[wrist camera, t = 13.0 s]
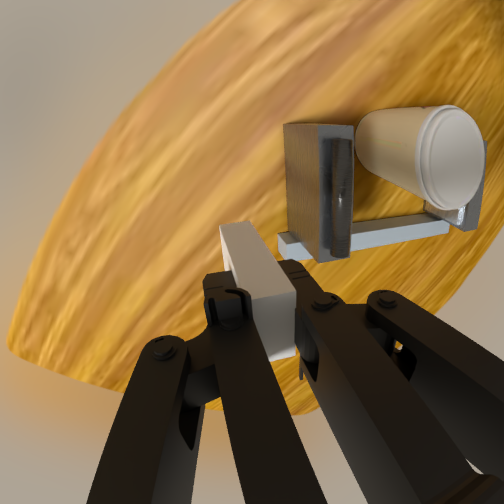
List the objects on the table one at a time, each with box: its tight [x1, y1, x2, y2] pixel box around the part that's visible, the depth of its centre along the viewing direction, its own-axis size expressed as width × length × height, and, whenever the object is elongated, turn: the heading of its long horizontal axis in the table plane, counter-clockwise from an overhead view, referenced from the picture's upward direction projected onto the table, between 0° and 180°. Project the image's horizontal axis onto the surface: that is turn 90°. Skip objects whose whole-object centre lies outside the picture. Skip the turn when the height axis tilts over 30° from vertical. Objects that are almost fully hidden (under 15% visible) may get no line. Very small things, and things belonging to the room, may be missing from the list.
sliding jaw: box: [283, 123, 354, 263], centre depth 24 cm, size 11×4×10 cm, turn 4°
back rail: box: [278, 213, 450, 261], centre depth 32 cm, size 2×24×3 cm, turn 94°
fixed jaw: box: [423, 140, 487, 232], centre depth 28 cm, size 11×4×8 cm, turn 4°
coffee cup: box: [355, 105, 485, 210], centre depth 24 cm, size 9×9×12 cm
